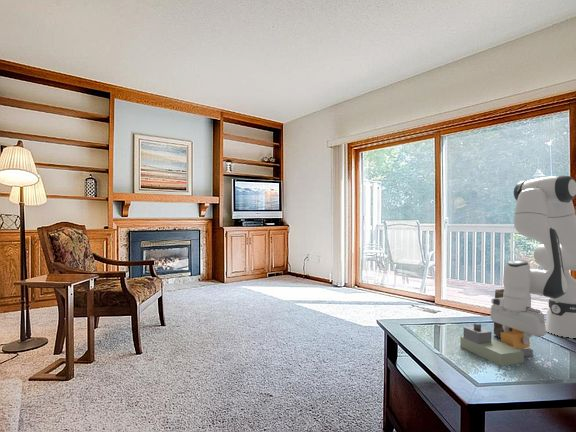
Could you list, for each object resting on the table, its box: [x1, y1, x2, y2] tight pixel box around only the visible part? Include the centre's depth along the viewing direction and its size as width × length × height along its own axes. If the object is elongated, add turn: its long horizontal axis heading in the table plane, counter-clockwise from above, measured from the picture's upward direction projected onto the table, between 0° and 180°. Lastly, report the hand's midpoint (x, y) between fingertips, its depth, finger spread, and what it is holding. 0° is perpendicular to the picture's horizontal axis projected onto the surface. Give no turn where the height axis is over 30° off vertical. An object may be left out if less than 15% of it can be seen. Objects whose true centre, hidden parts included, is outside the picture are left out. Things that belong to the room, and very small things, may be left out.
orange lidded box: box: [500, 329, 531, 350], centre depth 131 cm, size 8×5×6 cm, turn 107°
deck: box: [460, 322, 534, 367], centre depth 129 cm, size 20×18×10 cm
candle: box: [493, 289, 513, 339], centre depth 146 cm, size 8×7×20 cm
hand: (516, 340), depth 131 cm, fingers closed on orange lidded box, 5 cm apart
